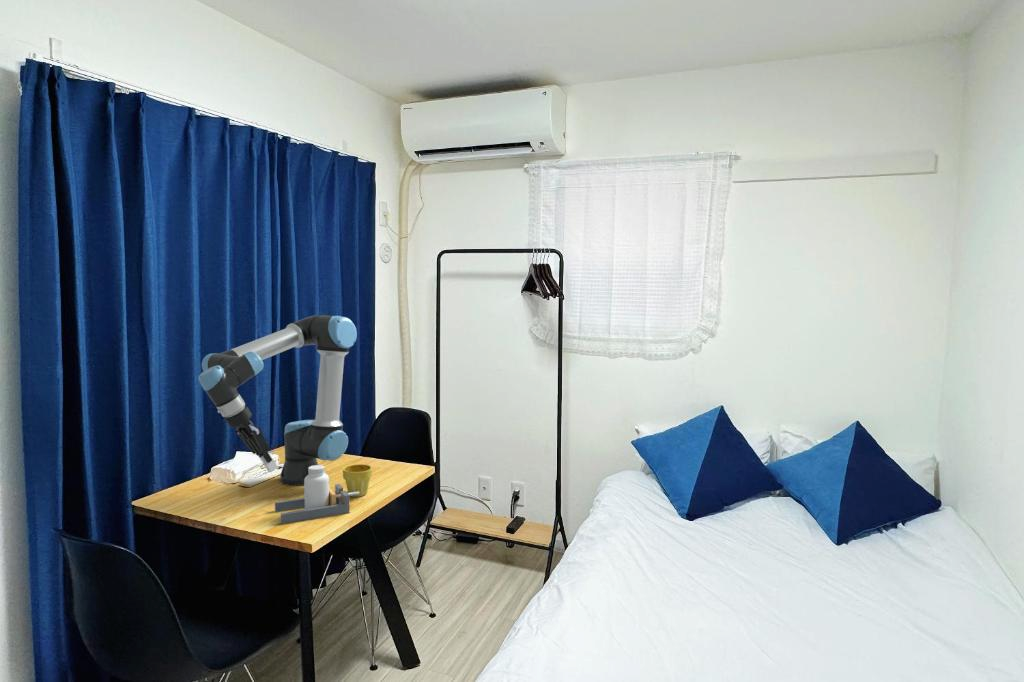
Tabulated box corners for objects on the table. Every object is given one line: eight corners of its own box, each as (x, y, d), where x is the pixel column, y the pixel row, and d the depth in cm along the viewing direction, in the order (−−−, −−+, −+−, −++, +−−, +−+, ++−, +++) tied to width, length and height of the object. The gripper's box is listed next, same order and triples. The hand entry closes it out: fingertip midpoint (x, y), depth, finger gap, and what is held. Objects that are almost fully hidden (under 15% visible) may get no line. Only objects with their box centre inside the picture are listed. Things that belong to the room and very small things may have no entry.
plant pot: (339, 498, 210) (339, 472, 210) (347, 489, 221) (347, 463, 220) (368, 499, 211) (368, 472, 210) (374, 489, 221) (374, 464, 220)
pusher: (332, 512, 197) (332, 494, 196) (326, 503, 204) (326, 486, 204) (362, 507, 202) (362, 490, 201) (355, 499, 209) (355, 482, 209)
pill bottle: (307, 506, 202) (307, 463, 201) (331, 506, 203) (331, 463, 202) (301, 515, 194) (301, 470, 193) (326, 514, 195) (326, 470, 194)
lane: (281, 524, 187) (281, 505, 186) (274, 510, 198) (274, 493, 197) (349, 512, 197) (349, 495, 197) (339, 500, 209) (339, 483, 208)
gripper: (215, 418, 188) (254, 475, 197) (234, 418, 180) (274, 478, 189) (234, 404, 194) (272, 460, 202) (254, 404, 185) (292, 462, 194)
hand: (273, 469), depth 195 cm, fingers closed
